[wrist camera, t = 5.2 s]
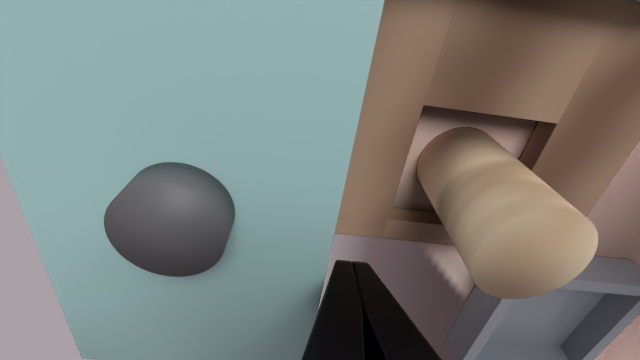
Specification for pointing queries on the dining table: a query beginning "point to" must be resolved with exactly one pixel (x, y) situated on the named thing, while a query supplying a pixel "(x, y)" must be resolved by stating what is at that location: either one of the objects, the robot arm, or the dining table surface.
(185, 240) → the teal lid
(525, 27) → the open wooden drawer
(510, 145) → the dining table surface
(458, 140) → the maple peg
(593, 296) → the slate tray
